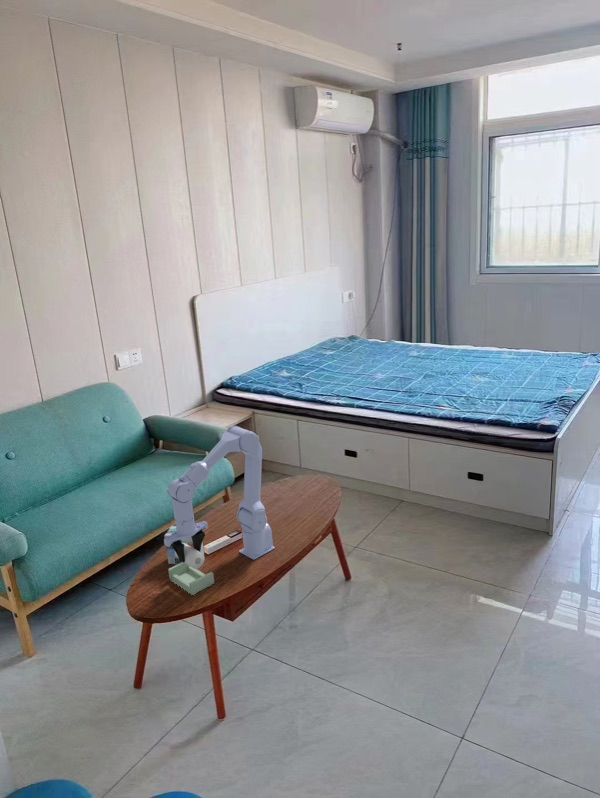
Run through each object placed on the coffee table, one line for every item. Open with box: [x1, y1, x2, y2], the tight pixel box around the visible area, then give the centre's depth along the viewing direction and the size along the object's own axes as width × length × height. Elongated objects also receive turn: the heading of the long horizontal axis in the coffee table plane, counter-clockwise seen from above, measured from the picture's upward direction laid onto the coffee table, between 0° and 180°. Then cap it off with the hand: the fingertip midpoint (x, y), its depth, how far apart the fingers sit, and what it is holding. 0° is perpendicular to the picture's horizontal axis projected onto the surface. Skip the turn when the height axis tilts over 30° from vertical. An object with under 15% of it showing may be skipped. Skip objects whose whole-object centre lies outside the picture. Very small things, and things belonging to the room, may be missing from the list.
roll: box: [175, 543, 205, 570], centre depth 181 cm, size 9×5×5 cm, turn 44°
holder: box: [167, 562, 215, 596], centre depth 182 cm, size 13×8×4 cm, turn 44°
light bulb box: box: [164, 525, 205, 565], centre depth 195 cm, size 11×7×11 cm, turn 82°
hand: (189, 557), depth 181 cm, fingers closed on roll, 5 cm apart
